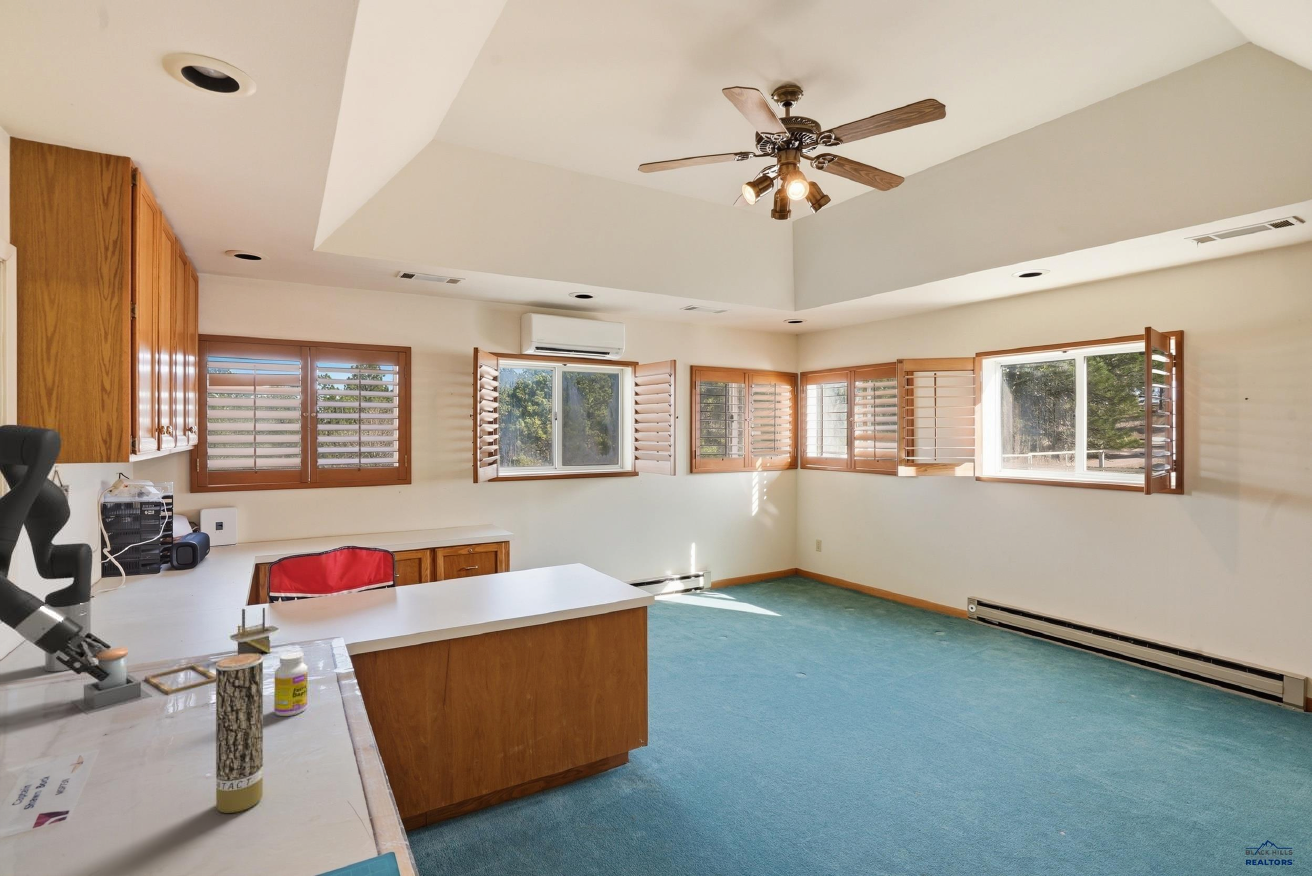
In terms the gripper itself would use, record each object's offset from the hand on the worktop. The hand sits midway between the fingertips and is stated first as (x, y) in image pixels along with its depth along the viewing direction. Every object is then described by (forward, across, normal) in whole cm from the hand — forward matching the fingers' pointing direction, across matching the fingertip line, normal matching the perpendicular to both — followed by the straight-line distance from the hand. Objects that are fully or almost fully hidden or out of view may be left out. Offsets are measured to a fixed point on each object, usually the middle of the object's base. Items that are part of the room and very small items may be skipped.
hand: (113, 671), depth 150 cm
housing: (+5, 0, +6) cm, 8 cm away
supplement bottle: (+33, -20, -21) cm, 44 cm away
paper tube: (+30, -59, -18) cm, 68 cm away
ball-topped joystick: (+4, 0, +5) cm, 6 cm away
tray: (+14, +7, -3) cm, 16 cm away
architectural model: (+24, +25, -12) cm, 37 cm away
